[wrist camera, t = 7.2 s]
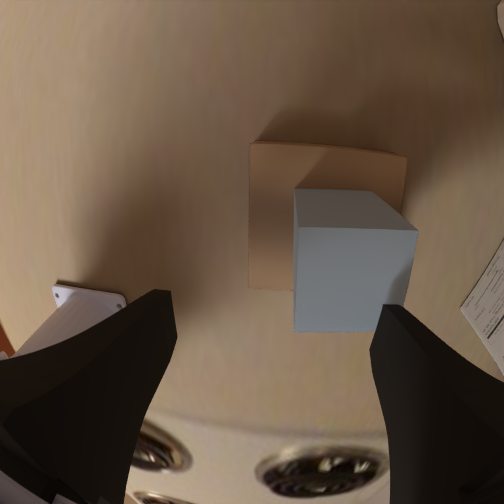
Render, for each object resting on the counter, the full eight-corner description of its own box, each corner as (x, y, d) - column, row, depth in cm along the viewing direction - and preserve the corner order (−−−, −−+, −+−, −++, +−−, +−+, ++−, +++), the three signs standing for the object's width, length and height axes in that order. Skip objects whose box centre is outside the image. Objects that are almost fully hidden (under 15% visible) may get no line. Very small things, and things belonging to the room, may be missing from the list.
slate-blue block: (364, 263, 16) (396, 330, 10) (292, 262, 16) (294, 332, 11) (371, 191, 14) (418, 230, 9) (294, 188, 15) (298, 227, 9)
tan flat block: (371, 271, 19) (383, 295, 16) (253, 264, 20) (247, 288, 17) (389, 151, 16) (407, 157, 13) (255, 140, 17) (249, 143, 14)
